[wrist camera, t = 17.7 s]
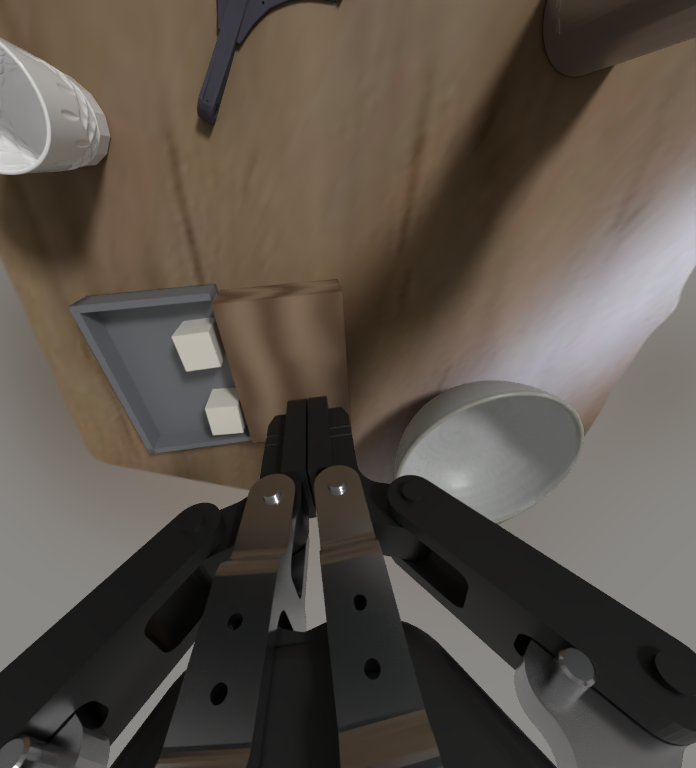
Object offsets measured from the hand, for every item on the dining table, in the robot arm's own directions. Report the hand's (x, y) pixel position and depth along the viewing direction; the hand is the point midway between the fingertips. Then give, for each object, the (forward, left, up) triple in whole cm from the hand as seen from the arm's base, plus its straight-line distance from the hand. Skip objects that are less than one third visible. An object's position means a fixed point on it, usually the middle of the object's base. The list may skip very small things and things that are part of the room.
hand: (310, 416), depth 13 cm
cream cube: (+11, +8, -27) cm, 30 cm away
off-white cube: (+11, +19, -27) cm, 34 cm away
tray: (+17, +13, -30) cm, 37 cm away
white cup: (+19, -13, -30) cm, 38 cm away
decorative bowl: (-22, +28, -30) cm, 47 cm away
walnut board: (+3, +13, -30) cm, 33 cm away
